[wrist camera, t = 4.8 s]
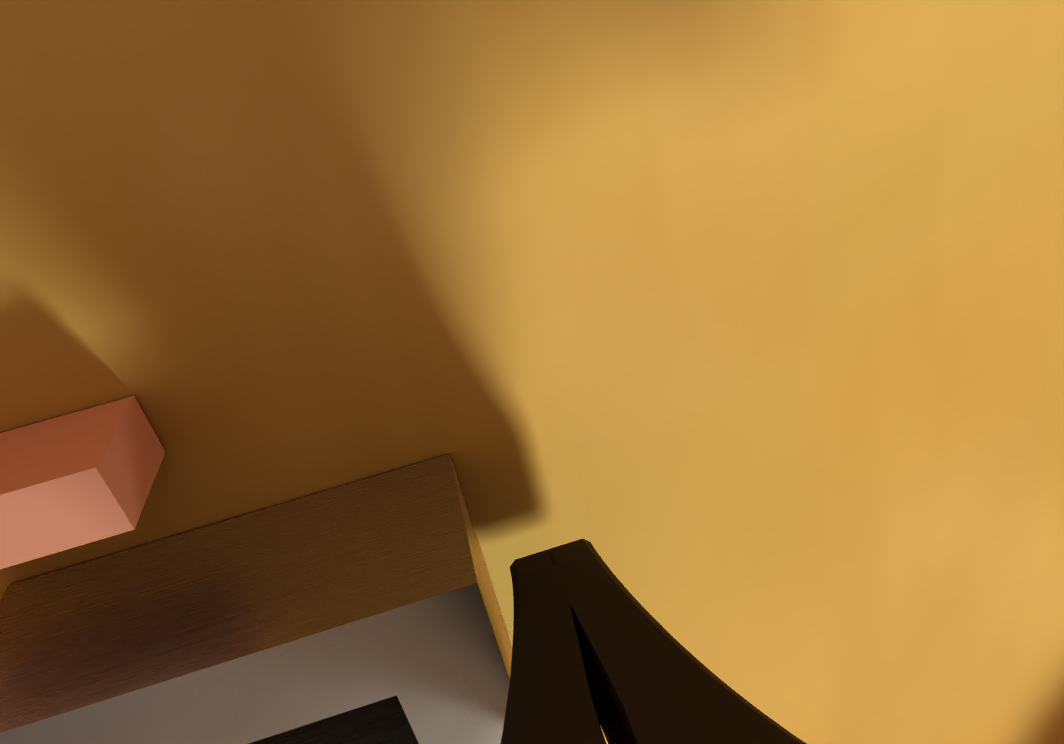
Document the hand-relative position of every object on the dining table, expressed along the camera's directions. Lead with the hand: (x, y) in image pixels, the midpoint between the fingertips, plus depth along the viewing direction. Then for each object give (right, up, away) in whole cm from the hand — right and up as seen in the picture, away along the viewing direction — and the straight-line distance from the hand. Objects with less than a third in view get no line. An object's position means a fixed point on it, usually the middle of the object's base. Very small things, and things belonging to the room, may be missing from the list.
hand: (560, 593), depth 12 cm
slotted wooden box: (-5, -1, +1) cm, 5 cm away
